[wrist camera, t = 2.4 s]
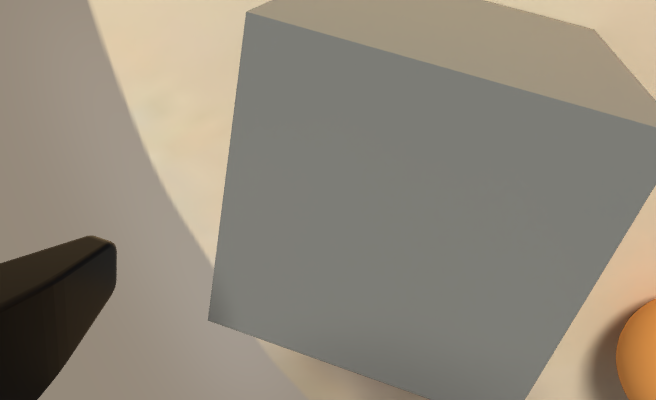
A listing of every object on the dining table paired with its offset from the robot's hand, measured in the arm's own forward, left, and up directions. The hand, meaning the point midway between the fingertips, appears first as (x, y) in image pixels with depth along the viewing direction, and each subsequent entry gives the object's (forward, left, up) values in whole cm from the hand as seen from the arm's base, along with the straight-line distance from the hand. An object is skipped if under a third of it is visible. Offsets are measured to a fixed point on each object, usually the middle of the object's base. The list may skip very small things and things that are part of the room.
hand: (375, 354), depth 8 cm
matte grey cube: (0, 0, -12) cm, 12 cm away
